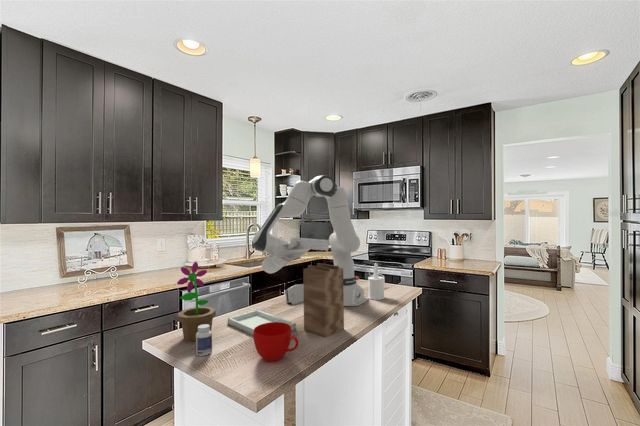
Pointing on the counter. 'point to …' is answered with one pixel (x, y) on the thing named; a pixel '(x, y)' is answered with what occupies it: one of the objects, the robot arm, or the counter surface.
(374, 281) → the white soap dispenser
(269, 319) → the tray
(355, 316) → the counter surface
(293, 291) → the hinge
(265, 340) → the ceramic cup
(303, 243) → the block
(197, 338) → the pill bottle
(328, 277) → the ridged wooden post
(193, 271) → the flowerpot
